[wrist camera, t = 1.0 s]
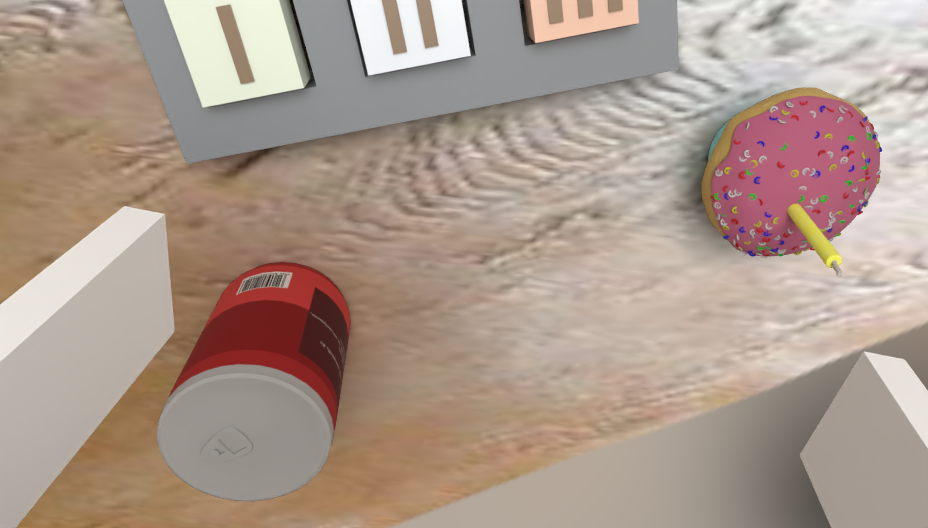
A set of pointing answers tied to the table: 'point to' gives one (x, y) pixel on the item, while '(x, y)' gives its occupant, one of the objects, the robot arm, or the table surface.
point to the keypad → (396, 74)
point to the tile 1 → (239, 48)
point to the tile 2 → (409, 32)
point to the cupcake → (791, 174)
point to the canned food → (260, 387)
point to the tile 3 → (576, 17)
